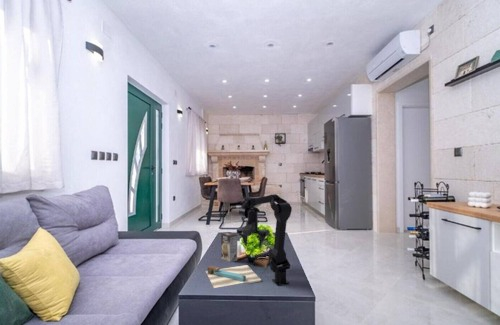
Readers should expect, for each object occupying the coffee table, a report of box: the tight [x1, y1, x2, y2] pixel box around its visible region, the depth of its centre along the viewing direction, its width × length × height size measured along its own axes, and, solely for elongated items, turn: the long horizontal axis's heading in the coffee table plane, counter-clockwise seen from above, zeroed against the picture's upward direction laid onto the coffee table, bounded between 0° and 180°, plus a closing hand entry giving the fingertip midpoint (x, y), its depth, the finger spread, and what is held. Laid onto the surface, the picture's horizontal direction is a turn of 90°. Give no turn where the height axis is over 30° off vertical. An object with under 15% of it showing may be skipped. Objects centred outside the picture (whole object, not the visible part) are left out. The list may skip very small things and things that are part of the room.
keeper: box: [207, 265, 221, 275], centre depth 136 cm, size 6×3×3 cm, turn 60°
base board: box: [205, 264, 262, 289], centre depth 134 cm, size 21×24×1 cm
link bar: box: [214, 270, 246, 281], centre depth 132 cm, size 18×3×2 cm, turn 61°
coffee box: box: [220, 231, 238, 262], centre depth 159 cm, size 9×6×16 cm
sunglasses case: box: [252, 256, 270, 268], centre depth 155 cm, size 18×7×7 cm
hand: (253, 246), depth 146 cm, fingers open, 9 cm apart
